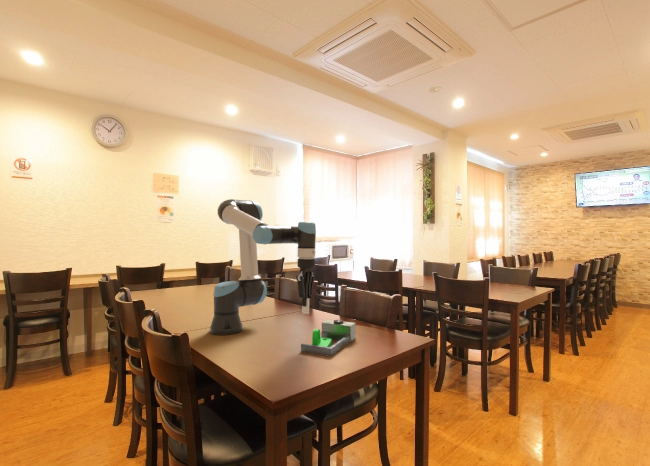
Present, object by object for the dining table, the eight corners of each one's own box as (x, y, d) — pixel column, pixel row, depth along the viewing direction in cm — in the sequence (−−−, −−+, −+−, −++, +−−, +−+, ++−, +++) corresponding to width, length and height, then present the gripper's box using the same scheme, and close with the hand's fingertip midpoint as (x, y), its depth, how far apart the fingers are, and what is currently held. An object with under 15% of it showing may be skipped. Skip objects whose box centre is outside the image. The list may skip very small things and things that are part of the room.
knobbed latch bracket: (300, 351, 136) (300, 331, 136) (327, 334, 159) (327, 317, 159) (332, 356, 130) (332, 336, 130) (355, 338, 153) (355, 321, 153)
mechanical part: (326, 352, 136) (326, 332, 136) (312, 350, 137) (312, 331, 137) (333, 342, 148) (332, 324, 148) (319, 341, 149) (319, 323, 149)
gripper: (306, 259, 137) (305, 318, 138) (321, 257, 149) (320, 311, 149) (290, 258, 141) (289, 315, 141) (306, 256, 152) (305, 309, 153)
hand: (305, 313), depth 145 cm, fingers closed
